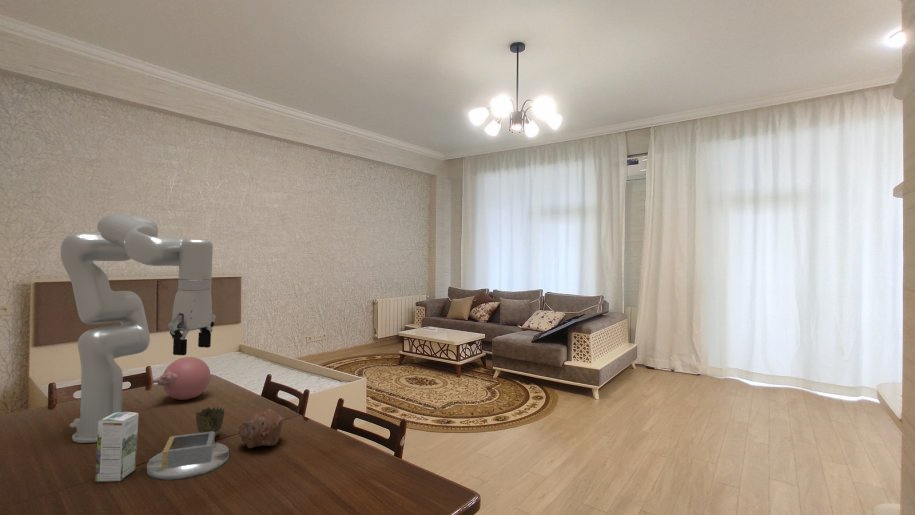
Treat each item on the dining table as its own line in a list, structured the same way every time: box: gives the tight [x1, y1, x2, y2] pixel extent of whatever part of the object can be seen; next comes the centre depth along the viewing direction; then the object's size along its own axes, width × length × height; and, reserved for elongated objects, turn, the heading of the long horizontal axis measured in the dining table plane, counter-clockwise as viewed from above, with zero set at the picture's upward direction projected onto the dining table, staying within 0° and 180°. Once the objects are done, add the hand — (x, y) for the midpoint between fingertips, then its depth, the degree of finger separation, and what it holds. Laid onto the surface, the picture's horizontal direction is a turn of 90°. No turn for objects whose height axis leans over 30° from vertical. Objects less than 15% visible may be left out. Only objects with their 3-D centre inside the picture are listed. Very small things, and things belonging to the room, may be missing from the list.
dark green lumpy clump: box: [195, 406, 226, 438], centre depth 129 cm, size 8×7×8 cm
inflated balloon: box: [151, 356, 211, 401], centre depth 161 cm, size 15×20×15 cm
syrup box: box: [94, 411, 139, 482], centre depth 106 cm, size 6×6×14 cm
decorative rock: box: [237, 408, 284, 449], centre depth 125 cm, size 13×11×10 cm
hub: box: [146, 431, 230, 481], centre depth 114 cm, size 18×18×6 cm
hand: (192, 350), depth 116 cm, fingers open, 9 cm apart
